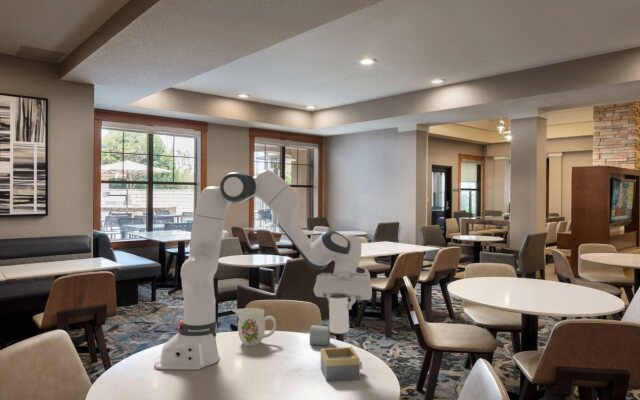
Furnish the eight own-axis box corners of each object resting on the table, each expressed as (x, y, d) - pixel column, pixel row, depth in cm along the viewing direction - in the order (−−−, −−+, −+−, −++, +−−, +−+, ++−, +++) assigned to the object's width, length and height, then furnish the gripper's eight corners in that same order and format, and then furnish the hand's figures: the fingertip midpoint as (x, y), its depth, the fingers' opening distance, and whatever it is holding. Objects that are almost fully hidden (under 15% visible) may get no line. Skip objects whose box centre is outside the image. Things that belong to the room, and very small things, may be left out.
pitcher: (275, 347, 175) (275, 312, 175) (229, 348, 173) (230, 313, 173) (276, 338, 186) (276, 306, 186) (233, 339, 184) (233, 306, 184)
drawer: (326, 381, 142) (326, 360, 142) (320, 368, 153) (320, 348, 153) (365, 379, 145) (365, 357, 145) (356, 366, 155) (357, 346, 155)
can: (350, 328, 151) (349, 294, 151) (347, 334, 145) (346, 298, 145) (331, 328, 153) (331, 293, 153) (328, 333, 147) (327, 298, 146)
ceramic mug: (329, 347, 175) (330, 328, 175) (309, 347, 175) (309, 327, 175) (330, 339, 185) (330, 321, 185) (311, 339, 186) (311, 321, 186)
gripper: (316, 267, 158) (308, 300, 149) (372, 270, 153) (368, 304, 143) (319, 277, 162) (311, 310, 153) (374, 280, 157) (370, 314, 148)
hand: (339, 307), depth 148 cm, fingers closed on can, 5 cm apart
